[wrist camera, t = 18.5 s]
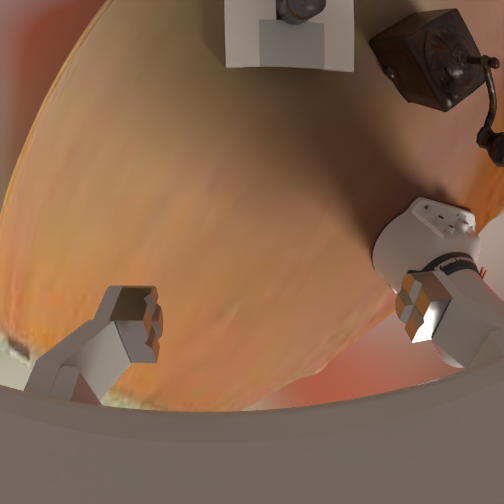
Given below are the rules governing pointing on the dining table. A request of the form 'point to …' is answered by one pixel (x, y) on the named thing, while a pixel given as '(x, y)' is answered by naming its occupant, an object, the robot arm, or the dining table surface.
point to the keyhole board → (267, 9)
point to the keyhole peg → (298, 10)
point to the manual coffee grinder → (439, 67)
